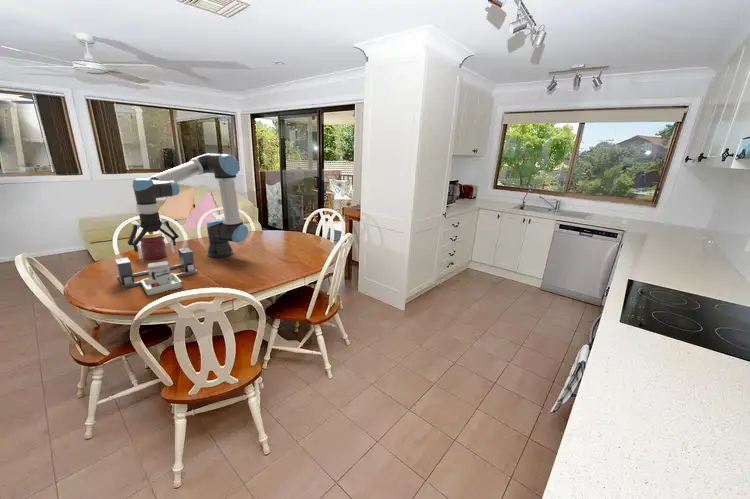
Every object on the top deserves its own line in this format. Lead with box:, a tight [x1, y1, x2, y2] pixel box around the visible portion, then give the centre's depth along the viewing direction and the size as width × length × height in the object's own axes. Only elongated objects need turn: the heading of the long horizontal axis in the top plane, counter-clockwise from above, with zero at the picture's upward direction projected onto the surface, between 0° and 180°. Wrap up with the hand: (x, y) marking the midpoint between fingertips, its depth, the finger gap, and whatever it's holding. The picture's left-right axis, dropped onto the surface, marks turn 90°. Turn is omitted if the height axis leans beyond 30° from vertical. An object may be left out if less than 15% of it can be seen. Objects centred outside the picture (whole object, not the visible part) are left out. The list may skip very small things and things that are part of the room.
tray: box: [140, 272, 183, 296], centre depth 156 cm, size 15×15×3 cm
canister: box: [139, 231, 168, 261], centre depth 193 cm, size 13×13×18 cm
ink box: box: [147, 260, 172, 288], centre depth 154 cm, size 8×5×12 cm, turn 125°
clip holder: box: [114, 247, 199, 290], centre depth 166 cm, size 34×15×12 cm, turn 135°
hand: (157, 255), depth 152 cm, fingers open, 13 cm apart
